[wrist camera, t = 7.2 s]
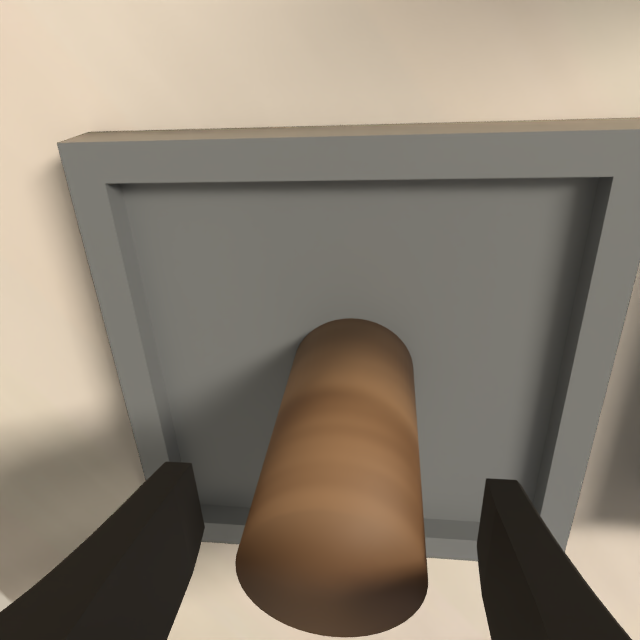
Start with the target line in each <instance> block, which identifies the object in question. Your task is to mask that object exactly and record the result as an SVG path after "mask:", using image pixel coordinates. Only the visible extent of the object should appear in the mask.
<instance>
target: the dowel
mask: <svg viewBox="0 0 640 640" xmlns="http://www.w3.org/2000/svg"><path fill="white" fill-rule="evenodd" d="M236 573H237V576H238V580H239V582H240V584H241V586H242V588H243V590H244V591H245V593H246V594H247V596H248V597H249V598H250V599H251V600H252V601H253V603H255V604H256V605H257V606H258V607H259V608H260V609H261V610H263V611H264V612H265V613H267V614H268V615H269V616H271V617H273V618H274V619H276V620H278V621H280V622H282V623H284V624H286V625H288V626H291V627H293V628H296V629H299V630H302V631H305V632H309V633H313V634H318V635H323V636H331V637H360V636H368V635H373V634H377V633H381V632H384V631H387V630H389V629H392V628H394V627H396V626H398V625H400V624H402V623H403V622H405V621H406V620H408V619H409V618H410V617H411V616H413V615H414V613H415V612H416V611H417V610H418V609H419V608H420V606H421V605H422V603H423V601H424V599H425V596H426V594H427V588H428V573H427V559H426V544H425V530H424V515H423V501H422V486H421V472H420V458H419V443H418V429H417V414H416V400H415V385H414V371H413V362H412V358H411V355H410V353H409V351H408V349H407V347H406V346H405V344H404V343H403V342H402V340H401V339H400V338H399V337H398V336H397V335H396V334H394V333H393V332H392V331H391V330H389V329H387V328H386V327H384V326H382V325H380V324H378V323H375V322H372V321H369V320H363V319H355V318H346V319H338V320H334V321H330V322H327V323H325V324H322V325H320V326H319V327H317V328H315V329H314V330H313V331H311V332H310V333H309V334H308V335H307V336H306V337H305V338H304V339H303V341H302V342H301V343H300V345H299V347H298V349H297V351H296V355H295V358H294V361H293V365H292V368H291V371H290V375H289V378H288V382H287V385H286V388H285V392H284V395H283V399H282V402H281V405H280V409H279V412H278V416H277V419H276V422H275V426H274V429H273V433H272V436H271V439H270V443H269V446H268V450H267V453H266V456H265V460H264V463H263V467H262V470H261V473H260V477H259V480H258V483H257V487H256V490H255V494H254V497H253V500H252V504H251V507H250V511H249V514H248V517H247V521H246V524H245V528H244V531H243V534H242V538H241V541H240V545H239V548H238V551H237V555H236Z"/></svg>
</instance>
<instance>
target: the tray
mask: <svg viewBox="0 0 640 640" xmlns="http://www.w3.org/2000/svg"><path fill="white" fill-rule="evenodd" d="M57 146H58V150H59V153H60V157H61V161H62V165H63V168H64V172H65V176H66V180H67V184H68V187H69V191H70V195H71V199H72V203H73V206H74V210H75V214H76V218H77V222H78V225H79V229H80V233H81V237H82V241H83V244H84V248H85V252H86V256H87V259H88V263H89V267H90V271H91V275H92V278H93V282H94V286H95V290H96V294H97V297H98V301H99V305H100V309H101V313H102V316H103V320H104V324H105V328H106V331H107V335H108V339H109V343H110V347H111V350H112V354H113V358H114V362H115V366H116V369H117V373H118V377H119V381H120V385H121V388H122V392H123V396H124V400H125V404H126V407H127V411H128V415H129V419H130V422H131V426H132V430H133V434H134V438H135V441H136V445H137V449H138V453H139V457H140V460H141V464H142V468H143V472H144V476H145V479H146V480H147V479H148V478H149V477H150V476H151V475H152V474H153V473H154V472H155V471H156V470H157V469H158V468H159V467H160V466H161V465H162V464H164V463H165V462H185V463H192V467H193V472H194V476H195V481H196V486H197V491H198V496H199V501H200V506H201V511H202V516H203V520H204V525H205V529H204V533H203V537H202V541H201V542H214V543H228V544H240V541H241V538H242V534H243V531H244V528H245V524H246V521H247V517H248V514H249V511H250V507H251V504H252V500H253V497H254V494H255V490H256V487H257V483H258V480H259V477H260V473H261V470H262V467H263V463H264V460H265V456H266V453H267V450H268V446H269V443H270V439H271V436H272V433H273V429H274V426H275V422H276V419H277V416H278V412H279V409H280V405H281V402H282V399H283V395H284V392H285V388H286V385H287V382H288V378H289V375H290V371H291V368H292V365H293V361H294V358H295V355H296V351H297V349H298V347H299V345H300V343H301V342H302V341H303V339H304V338H305V337H306V336H307V335H308V334H309V333H310V332H311V331H313V330H314V329H315V328H317V327H319V326H320V325H322V324H325V323H327V322H330V321H334V320H338V319H346V318H355V319H363V320H369V321H372V322H375V323H378V324H380V325H382V326H384V327H386V328H387V329H389V330H391V331H392V332H393V333H394V334H396V335H397V336H398V337H399V338H400V339H401V340H402V342H403V343H404V344H405V346H406V347H407V349H408V351H409V353H410V355H411V358H412V362H413V371H414V385H415V400H416V414H417V429H418V443H419V458H420V472H421V486H422V501H423V515H424V530H425V544H426V558H440V559H454V560H469V561H478V555H477V546H476V545H477V538H478V531H479V524H480V517H481V510H482V503H483V496H484V489H485V482H486V478H490V479H509V480H517V481H518V482H519V483H520V484H521V485H522V487H523V489H524V490H525V492H526V494H527V495H528V497H529V499H530V500H531V502H532V504H533V505H534V507H535V509H536V510H537V512H538V513H539V515H540V516H541V518H542V520H543V521H544V523H545V524H546V526H547V527H548V529H549V530H550V532H551V533H552V535H553V536H554V538H555V539H556V541H557V542H558V544H559V545H560V547H561V548H562V549H563V551H564V552H565V549H566V545H567V541H568V537H569V534H570V530H571V526H572V522H573V518H574V514H575V510H576V506H577V503H578V499H579V495H580V491H581V487H582V483H583V479H584V475H585V472H586V468H587V464H588V460H589V456H590V452H591V448H592V444H593V440H594V437H595V433H596V429H597V425H598V421H599V417H600V413H601V409H602V406H603V402H604V398H605V394H606V390H607V386H608V382H609V378H610V375H611V371H612V367H613V363H614V359H615V355H616V351H617V347H618V344H619V340H620V336H621V332H622V328H623V324H624V320H625V316H626V313H627V309H628V305H629V301H630V297H631V293H632V289H633V285H634V282H635V278H636V274H637V270H638V266H639V262H640V118H609V119H570V120H531V121H493V122H454V123H415V124H377V125H338V126H300V127H261V128H222V129H184V130H145V131H106V132H87V133H85V134H82V135H79V136H76V137H73V138H70V139H67V140H64V141H61V142H58V143H57Z"/></svg>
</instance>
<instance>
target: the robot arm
mask: <svg viewBox="0 0 640 640" xmlns="http://www.w3.org/2000/svg"><path fill="white" fill-rule="evenodd" d="M204 529H205V525H204V520H203V516H202V511H201V506H200V501H199V496H198V491H197V486H196V481H195V476H194V472H193V467H192V463H185V462H165V463H164V464H162V465H161V466H160V467H159V468H158V469H157V470H156V471H155V472H154V473H153V474H152V475H151V476H150V477H149V478H148V479H147V480H146V481H145V482H144V483H143V484H142V485H141V486H140V487H139V488H138V489H137V490H136V491H135V493H134V494H133V495H132V496H131V497H130V498H129V499H128V500H127V501H126V502H125V503H124V504H123V505H122V506H121V507H120V508H119V509H118V510H117V511H116V512H115V513H113V514H112V515H111V516H110V517H109V518H108V519H107V520H106V521H105V522H104V523H103V524H102V525H101V526H100V527H99V528H98V529H97V530H96V531H95V532H94V533H93V534H92V535H91V536H90V537H89V538H88V539H86V540H85V541H84V542H83V543H82V544H81V545H80V546H79V547H78V548H77V549H75V550H74V551H73V552H72V553H71V554H70V555H69V556H68V557H67V558H65V559H64V560H63V561H62V562H61V563H60V564H59V565H58V566H56V567H55V568H54V569H53V570H52V571H51V572H50V573H48V574H47V575H46V576H45V577H44V578H43V579H41V580H40V581H39V582H38V583H37V584H35V585H34V586H33V587H32V588H31V589H29V590H28V591H27V592H26V593H24V594H23V595H22V596H21V597H19V598H18V599H17V600H15V601H14V602H13V603H12V604H10V605H9V606H8V607H7V608H5V609H4V610H3V611H1V612H0V640H167V638H168V635H169V633H170V630H171V628H172V625H173V623H174V620H175V618H176V615H177V613H178V610H179V607H180V605H181V602H182V600H183V597H184V595H185V592H186V589H187V587H188V584H189V582H190V579H191V576H192V574H193V571H194V567H195V563H196V560H197V556H198V553H199V549H200V545H201V541H202V537H203V533H204ZM476 546H477V555H478V565H479V574H480V583H481V591H482V598H483V602H484V607H485V612H486V616H487V621H488V626H489V630H490V635H491V639H492V640H632V639H631V638H630V637H629V635H628V634H627V633H626V632H625V631H624V629H623V628H622V627H621V626H620V625H619V623H618V622H617V621H616V620H615V618H614V617H613V616H612V615H611V613H610V612H609V611H608V610H607V608H606V607H605V606H604V605H603V603H602V602H601V601H600V600H599V598H598V597H597V596H596V594H595V593H594V592H593V591H592V589H591V588H590V587H589V585H588V584H587V583H586V581H585V580H584V579H583V577H582V576H581V574H580V573H579V572H578V570H577V569H576V568H575V566H574V565H573V563H572V562H571V561H570V559H569V558H568V556H567V555H566V554H565V552H564V551H563V549H562V548H561V547H560V545H559V544H558V542H557V541H556V539H555V538H554V536H553V535H552V533H551V532H550V530H549V529H548V527H547V526H546V524H545V523H544V521H543V520H542V518H541V516H540V515H539V513H538V512H537V510H536V509H535V507H534V505H533V504H532V502H531V500H530V499H529V497H528V495H527V494H526V492H525V490H524V489H523V487H522V485H521V484H520V483H519V482H518V481H517V480H509V479H490V478H486V482H485V489H484V496H483V503H482V510H481V517H480V524H479V531H478V538H477V545H476Z"/></svg>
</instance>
